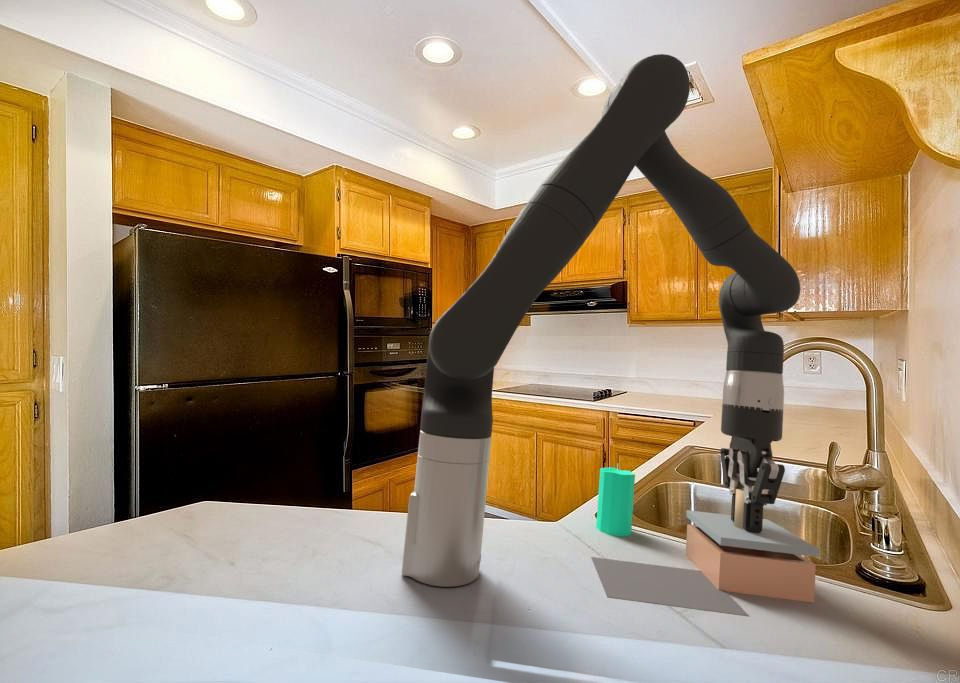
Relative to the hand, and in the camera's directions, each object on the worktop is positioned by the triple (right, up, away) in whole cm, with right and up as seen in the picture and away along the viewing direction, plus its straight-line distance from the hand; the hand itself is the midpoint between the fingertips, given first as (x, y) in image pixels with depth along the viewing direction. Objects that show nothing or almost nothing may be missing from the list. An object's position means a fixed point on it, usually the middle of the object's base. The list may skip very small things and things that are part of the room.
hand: (745, 526), depth 64 cm
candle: (-14, -7, +15) cm, 22 cm away
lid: (0, -1, 0) cm, 1 cm away
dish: (-1, -7, 0) cm, 7 cm away
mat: (-14, -6, -5) cm, 16 cm away
